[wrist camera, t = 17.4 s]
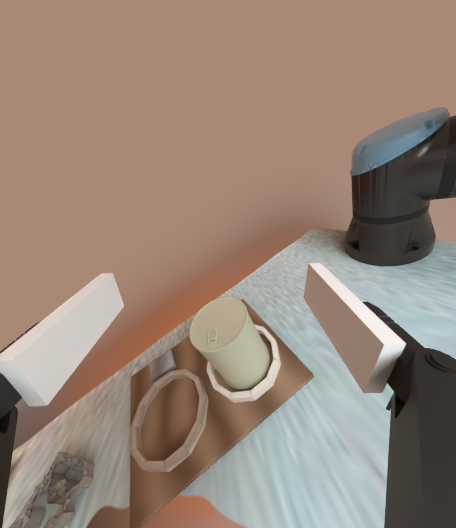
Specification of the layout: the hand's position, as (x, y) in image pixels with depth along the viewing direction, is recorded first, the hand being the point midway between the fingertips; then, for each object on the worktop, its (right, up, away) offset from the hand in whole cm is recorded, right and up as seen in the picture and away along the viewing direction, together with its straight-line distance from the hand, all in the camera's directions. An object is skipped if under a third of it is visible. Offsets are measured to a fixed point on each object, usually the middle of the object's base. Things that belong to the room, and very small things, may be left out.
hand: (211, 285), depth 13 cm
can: (+4, -16, +20) cm, 26 cm away
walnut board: (-3, -19, +21) cm, 29 cm away
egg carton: (-23, -35, +15) cm, 44 cm away
